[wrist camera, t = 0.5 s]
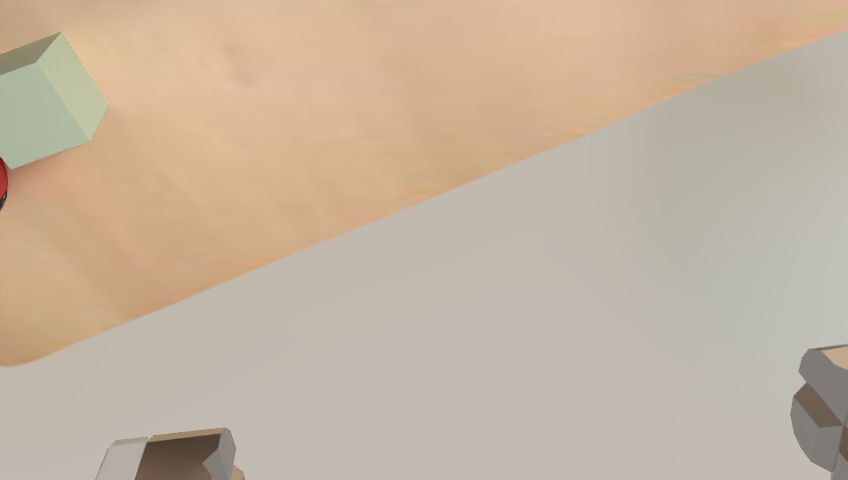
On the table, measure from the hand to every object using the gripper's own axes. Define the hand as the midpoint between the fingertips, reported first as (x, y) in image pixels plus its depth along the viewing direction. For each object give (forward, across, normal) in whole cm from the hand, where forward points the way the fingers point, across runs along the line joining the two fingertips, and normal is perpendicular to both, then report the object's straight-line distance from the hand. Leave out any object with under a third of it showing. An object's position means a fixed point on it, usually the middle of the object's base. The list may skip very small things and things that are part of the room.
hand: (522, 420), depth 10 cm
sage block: (+38, +21, +4) cm, 43 cm away
